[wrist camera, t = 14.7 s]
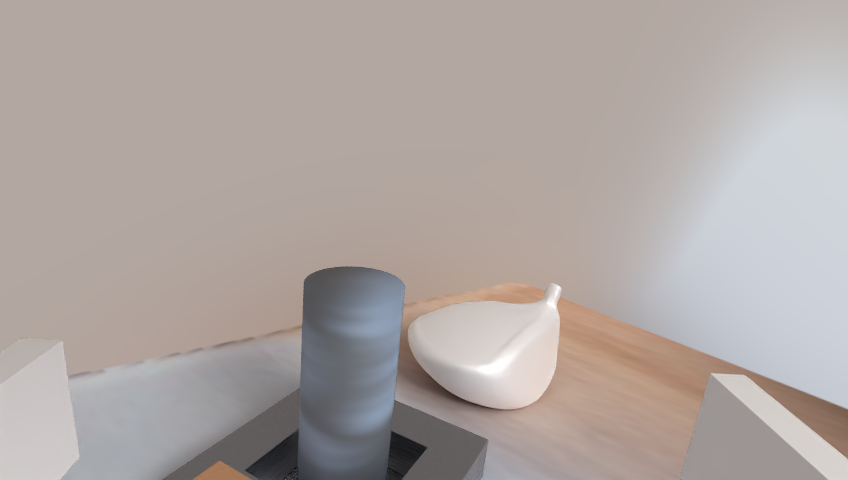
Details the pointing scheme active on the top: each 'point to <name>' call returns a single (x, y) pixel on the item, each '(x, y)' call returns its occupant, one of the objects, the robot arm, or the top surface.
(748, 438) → the robot arm
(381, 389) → the peg
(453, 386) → the driver head
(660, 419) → the top surface
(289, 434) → the socket block
